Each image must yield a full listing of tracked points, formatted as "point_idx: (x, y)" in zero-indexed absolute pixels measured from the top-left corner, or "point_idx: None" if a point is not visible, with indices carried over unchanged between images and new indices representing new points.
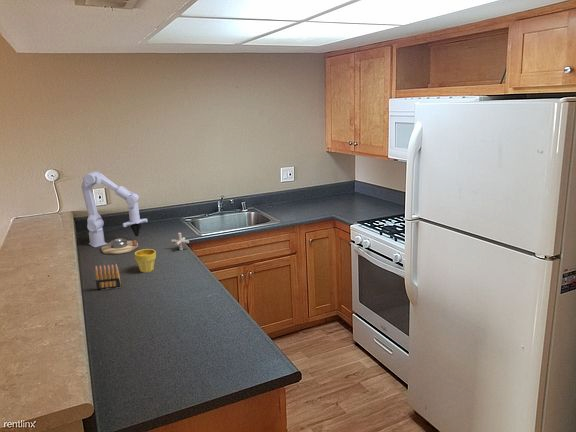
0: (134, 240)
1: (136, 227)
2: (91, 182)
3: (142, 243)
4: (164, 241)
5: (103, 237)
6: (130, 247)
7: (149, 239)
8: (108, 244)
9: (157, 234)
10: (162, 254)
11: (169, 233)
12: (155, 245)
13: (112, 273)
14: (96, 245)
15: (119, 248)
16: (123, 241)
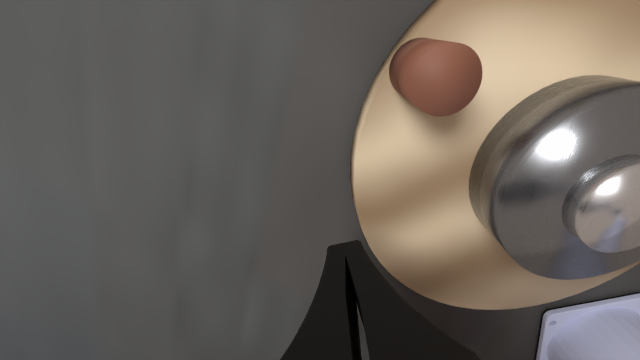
0: (438, 93)
1: (387, 356)
2: None
3: (288, 193)
4: (33, 128)
5: None
6: (496, 18)
7: (204, 266)
8: None
9: (124, 345)
10: None
11: (8, 327)
12: (150, 33)
13: None
14: (632, 310)
15: (614, 67)
16: (580, 144)
